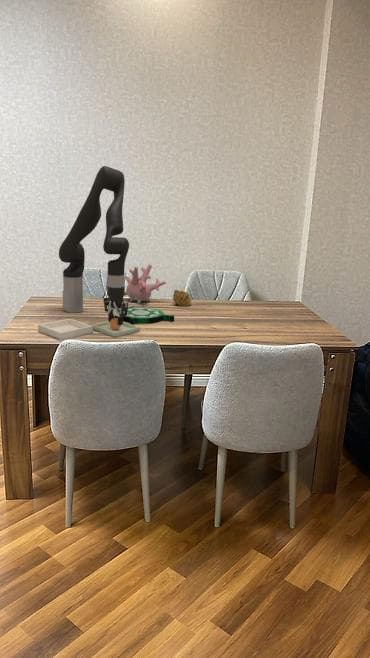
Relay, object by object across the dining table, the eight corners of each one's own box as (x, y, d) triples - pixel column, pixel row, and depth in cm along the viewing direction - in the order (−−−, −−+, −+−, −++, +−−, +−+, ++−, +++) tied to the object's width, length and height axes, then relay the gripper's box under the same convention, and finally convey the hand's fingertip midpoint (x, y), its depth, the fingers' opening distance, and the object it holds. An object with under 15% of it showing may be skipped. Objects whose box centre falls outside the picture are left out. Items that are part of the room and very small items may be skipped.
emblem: (121, 304, 247) (179, 310, 242) (121, 310, 248) (179, 316, 243) (104, 316, 223) (167, 322, 218) (103, 323, 224) (167, 329, 219)
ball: (107, 329, 212) (107, 317, 210) (116, 327, 215) (116, 316, 214) (114, 331, 209) (114, 320, 207) (123, 329, 212) (123, 318, 211)
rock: (178, 311, 270) (176, 293, 272) (193, 309, 269) (192, 292, 271) (173, 306, 259) (172, 288, 261) (189, 304, 257) (188, 286, 259)
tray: (91, 329, 212) (91, 324, 212) (116, 323, 222) (116, 319, 222) (115, 337, 202) (115, 333, 202) (140, 331, 212) (140, 327, 212)
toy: (136, 296, 280) (136, 261, 275) (165, 302, 269) (167, 266, 263) (114, 301, 265) (114, 264, 260) (144, 307, 254) (145, 269, 248)
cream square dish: (38, 331, 206) (38, 324, 205) (70, 324, 217) (70, 318, 216) (60, 340, 195) (60, 333, 195) (92, 333, 207) (92, 326, 206)
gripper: (134, 286, 205) (133, 325, 210) (111, 281, 214) (111, 318, 219) (120, 289, 199) (119, 328, 204) (98, 283, 209) (98, 321, 213)
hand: (115, 323), depth 211 cm, fingers open, 5 cm apart
